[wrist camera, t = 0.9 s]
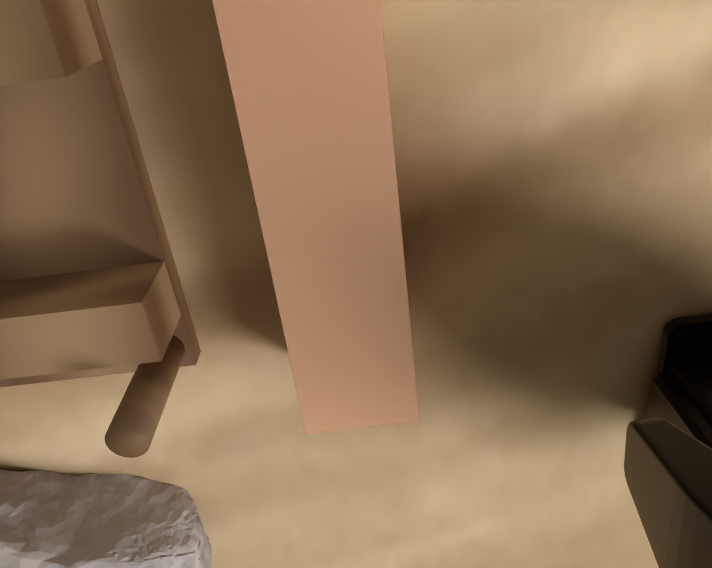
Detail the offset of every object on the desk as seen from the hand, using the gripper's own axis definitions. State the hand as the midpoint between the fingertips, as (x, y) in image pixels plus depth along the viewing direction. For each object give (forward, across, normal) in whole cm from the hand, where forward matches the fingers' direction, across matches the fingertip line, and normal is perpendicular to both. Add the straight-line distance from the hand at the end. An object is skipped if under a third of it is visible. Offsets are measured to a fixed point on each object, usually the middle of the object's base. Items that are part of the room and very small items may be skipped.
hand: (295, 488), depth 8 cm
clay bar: (+12, 0, 0) cm, 12 cm away
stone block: (+12, +13, +16) cm, 24 cm away
